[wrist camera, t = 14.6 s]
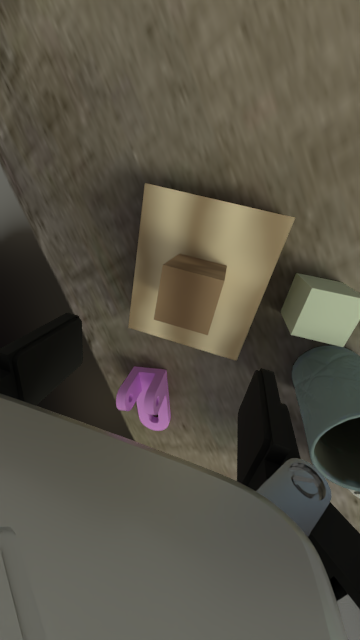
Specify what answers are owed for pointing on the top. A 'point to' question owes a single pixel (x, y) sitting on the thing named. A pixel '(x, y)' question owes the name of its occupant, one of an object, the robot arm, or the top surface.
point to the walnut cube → (189, 292)
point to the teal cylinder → (331, 411)
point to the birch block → (212, 245)
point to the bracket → (146, 396)
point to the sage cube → (321, 309)
